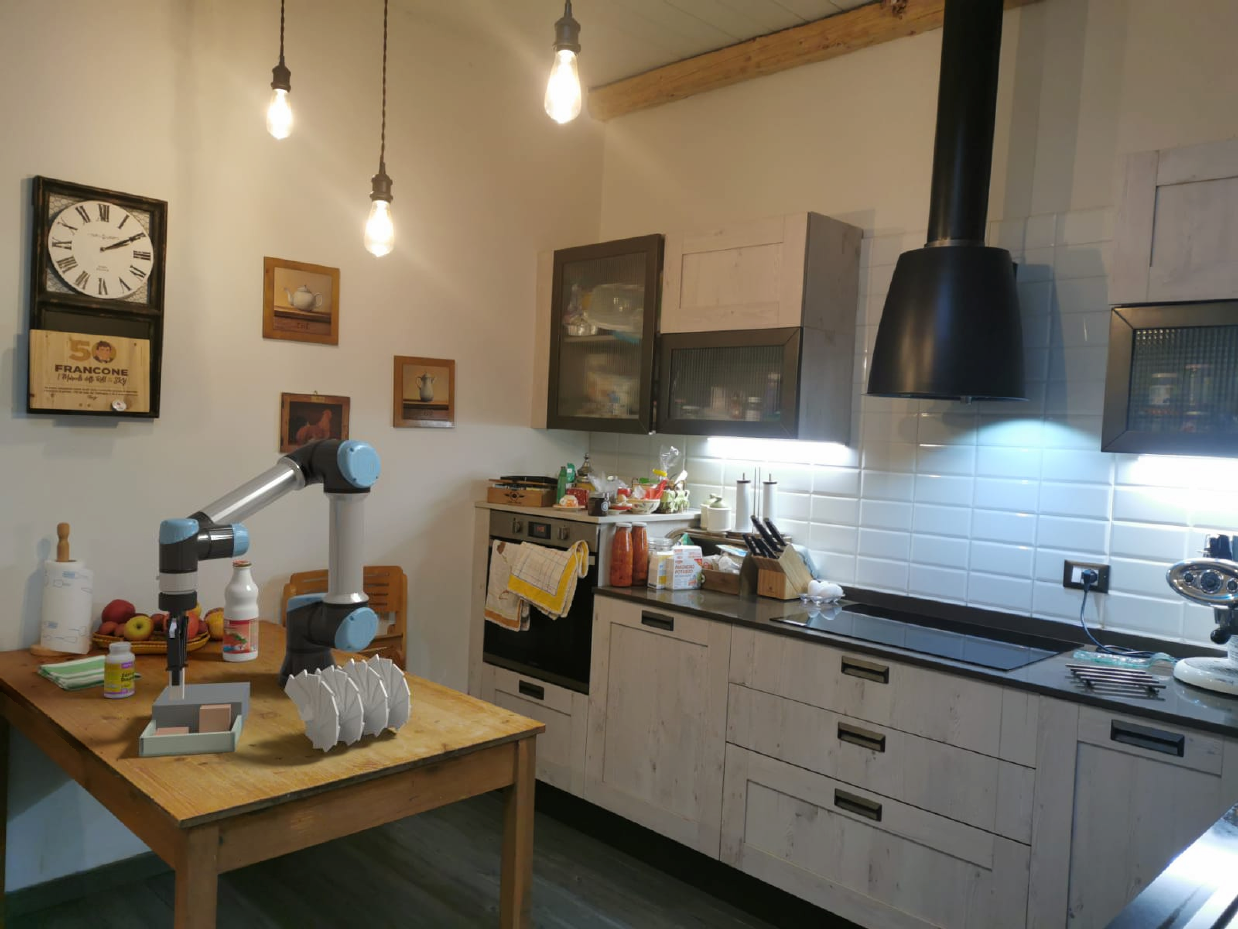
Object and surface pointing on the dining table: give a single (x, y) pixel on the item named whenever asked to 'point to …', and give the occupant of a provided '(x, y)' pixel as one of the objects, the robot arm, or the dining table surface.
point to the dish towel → (77, 673)
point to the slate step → (201, 704)
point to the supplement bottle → (119, 671)
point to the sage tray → (188, 742)
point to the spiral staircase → (350, 701)
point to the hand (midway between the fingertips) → (176, 699)
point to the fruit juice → (240, 616)
